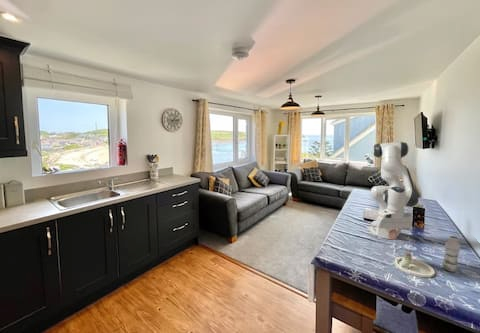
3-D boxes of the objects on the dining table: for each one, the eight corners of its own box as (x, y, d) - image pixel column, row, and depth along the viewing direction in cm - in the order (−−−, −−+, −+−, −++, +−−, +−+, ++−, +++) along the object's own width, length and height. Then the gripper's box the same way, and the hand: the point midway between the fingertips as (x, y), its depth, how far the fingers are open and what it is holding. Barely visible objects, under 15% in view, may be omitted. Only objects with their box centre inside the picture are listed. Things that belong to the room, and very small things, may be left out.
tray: (387, 260, 138) (388, 256, 138) (417, 260, 138) (417, 257, 138) (409, 278, 120) (409, 275, 120) (442, 279, 120) (443, 275, 120)
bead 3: (399, 265, 131) (400, 257, 130) (406, 265, 131) (406, 257, 130) (404, 269, 127) (405, 261, 127) (410, 269, 127) (411, 261, 127)
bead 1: (387, 236, 141) (388, 228, 140) (393, 236, 141) (394, 228, 140) (391, 238, 137) (392, 231, 136) (397, 238, 137) (398, 231, 136)
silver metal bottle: (456, 269, 129) (461, 237, 126) (457, 275, 124) (462, 241, 121) (441, 265, 133) (446, 233, 130) (441, 270, 128) (446, 237, 125)
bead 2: (402, 260, 136) (402, 253, 135) (407, 260, 136) (408, 253, 135) (406, 264, 132) (407, 256, 132) (412, 264, 132) (413, 256, 132)
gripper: (408, 211, 139) (405, 232, 142) (375, 211, 140) (373, 232, 142) (416, 215, 133) (413, 236, 135) (381, 215, 133) (379, 236, 136)
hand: (392, 234), depth 139 cm, fingers closed on bead 1, 4 cm apart
